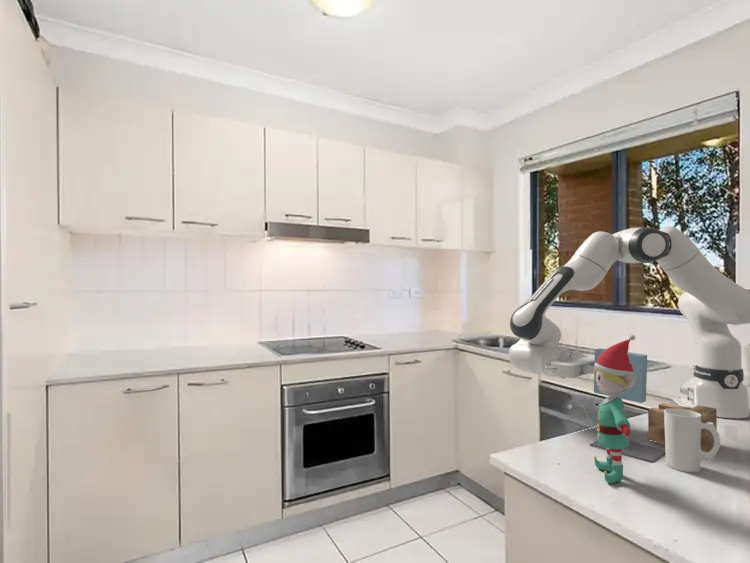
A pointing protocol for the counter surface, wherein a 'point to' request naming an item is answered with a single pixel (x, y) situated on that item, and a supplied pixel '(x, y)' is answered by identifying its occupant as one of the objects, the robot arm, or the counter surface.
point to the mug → (686, 439)
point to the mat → (639, 451)
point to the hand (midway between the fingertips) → (607, 370)
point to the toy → (613, 407)
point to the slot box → (707, 413)
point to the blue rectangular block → (640, 371)
